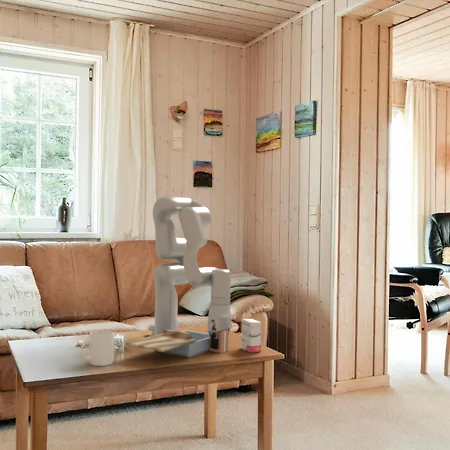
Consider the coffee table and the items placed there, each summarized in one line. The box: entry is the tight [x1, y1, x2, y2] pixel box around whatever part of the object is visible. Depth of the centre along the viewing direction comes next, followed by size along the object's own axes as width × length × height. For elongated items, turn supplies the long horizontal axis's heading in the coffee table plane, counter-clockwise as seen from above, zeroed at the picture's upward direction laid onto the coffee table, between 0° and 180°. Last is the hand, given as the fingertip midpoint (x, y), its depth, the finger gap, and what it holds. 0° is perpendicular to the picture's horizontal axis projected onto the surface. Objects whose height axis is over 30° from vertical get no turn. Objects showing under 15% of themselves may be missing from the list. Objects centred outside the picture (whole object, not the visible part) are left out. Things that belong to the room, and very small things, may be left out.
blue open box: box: [154, 329, 211, 358], centre depth 228 cm, size 16×20×5 cm
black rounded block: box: [77, 335, 89, 348], centre depth 231 cm, size 9×8×4 cm
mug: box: [80, 329, 115, 367], centre depth 203 cm, size 9×12×11 cm
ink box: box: [240, 318, 262, 354], centre depth 230 cm, size 9×5×12 cm, turn 24°
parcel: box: [210, 329, 230, 354], centre depth 227 cm, size 5×5×8 cm
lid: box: [125, 329, 197, 353], centre depth 214 cm, size 17×21×3 cm
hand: (219, 346), depth 227 cm, fingers open, 6 cm apart
